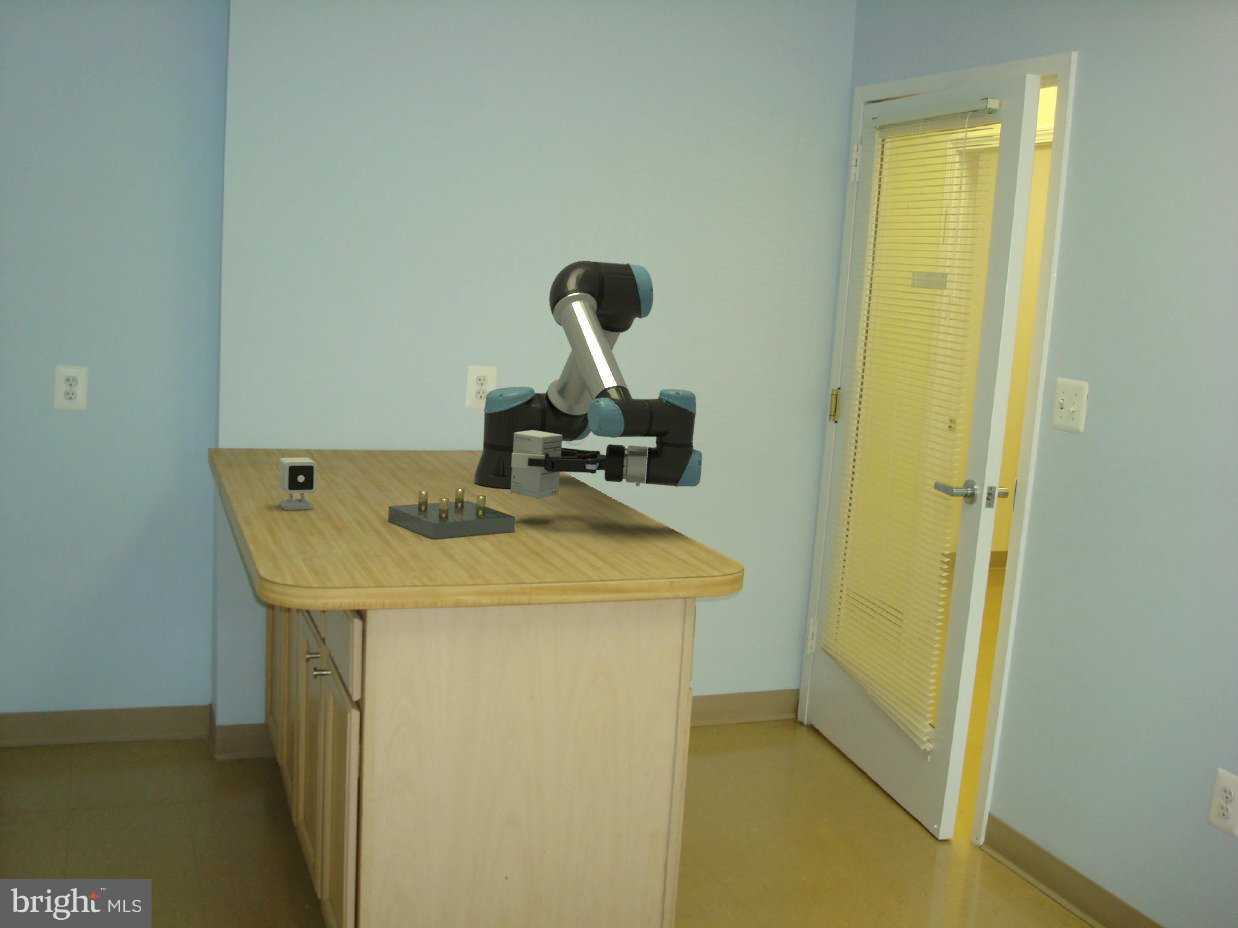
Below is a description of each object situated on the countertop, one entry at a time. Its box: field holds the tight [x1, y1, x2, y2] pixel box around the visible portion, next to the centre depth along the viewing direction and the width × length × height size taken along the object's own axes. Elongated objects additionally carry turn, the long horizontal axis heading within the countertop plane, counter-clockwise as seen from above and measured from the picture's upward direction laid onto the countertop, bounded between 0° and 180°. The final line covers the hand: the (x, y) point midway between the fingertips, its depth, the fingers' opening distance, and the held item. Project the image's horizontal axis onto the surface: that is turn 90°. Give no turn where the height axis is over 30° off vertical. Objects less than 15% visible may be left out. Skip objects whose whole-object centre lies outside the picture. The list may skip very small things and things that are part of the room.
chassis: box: [387, 487, 516, 540], centre depth 227 cm, size 18×18×6 cm
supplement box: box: [510, 430, 563, 500], centre depth 235 cm, size 7×7×13 cm
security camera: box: [278, 457, 318, 511], centre depth 236 cm, size 6×7×10 cm
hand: (515, 456), depth 235 cm, fingers closed on supplement box, 10 cm apart
